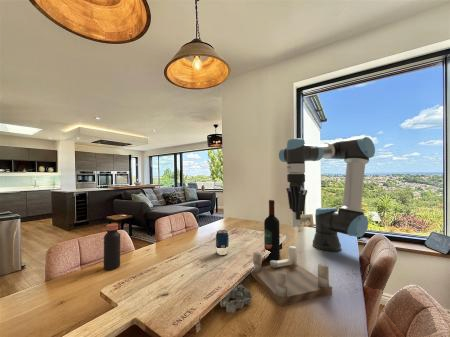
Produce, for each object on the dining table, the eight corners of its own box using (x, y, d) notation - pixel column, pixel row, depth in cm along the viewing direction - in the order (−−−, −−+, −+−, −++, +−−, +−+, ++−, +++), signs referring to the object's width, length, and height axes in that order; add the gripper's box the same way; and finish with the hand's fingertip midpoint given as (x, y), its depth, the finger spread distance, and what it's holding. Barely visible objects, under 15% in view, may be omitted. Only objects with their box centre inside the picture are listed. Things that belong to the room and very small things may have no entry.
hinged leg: (272, 268, 87) (272, 252, 88) (268, 265, 91) (268, 249, 91) (298, 263, 92) (298, 248, 92) (293, 260, 95) (293, 245, 95)
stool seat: (294, 266, 96) (294, 246, 96) (333, 293, 75) (333, 267, 75) (250, 273, 89) (250, 252, 89) (279, 306, 68) (279, 277, 68)
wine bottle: (280, 263, 100) (279, 201, 100) (264, 261, 101) (264, 201, 102) (279, 256, 107) (278, 199, 108) (264, 255, 109) (264, 199, 109)
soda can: (215, 251, 115) (215, 229, 115) (227, 250, 115) (227, 229, 116) (216, 256, 108) (216, 233, 108) (229, 255, 108) (229, 233, 109)
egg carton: (229, 316, 63) (229, 303, 63) (216, 303, 70) (216, 291, 70) (255, 304, 69) (255, 291, 69) (241, 293, 75) (241, 281, 75)
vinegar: (100, 270, 92) (100, 226, 93) (109, 264, 99) (109, 222, 100) (115, 270, 92) (115, 226, 93) (123, 264, 99) (123, 222, 99)
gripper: (281, 173, 97) (281, 223, 96) (296, 173, 84) (297, 231, 84) (295, 173, 98) (295, 222, 98) (312, 173, 86) (313, 229, 85)
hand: (296, 226), depth 91 cm, fingers closed
